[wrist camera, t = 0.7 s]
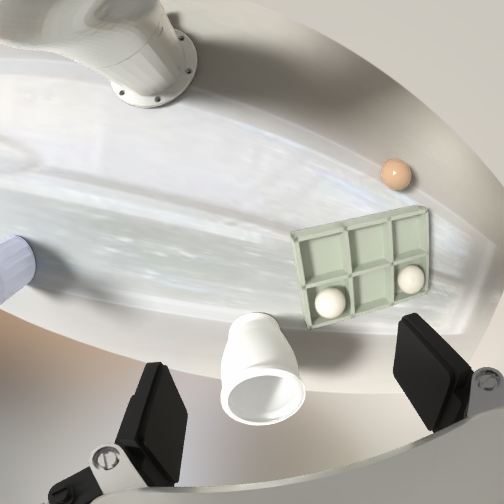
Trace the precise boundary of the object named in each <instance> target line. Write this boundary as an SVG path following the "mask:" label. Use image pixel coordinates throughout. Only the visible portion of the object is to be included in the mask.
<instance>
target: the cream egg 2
mask: <svg viewBox="0 0 504 504" xmlns="http://www.w3.org/2000/svg"><path fill="white" fill-rule="evenodd" d="M397 282H398V286H399V288H400V289H401V290H402V291H403V292H405V293H407V294H414V293H416V292H418V291H419V290H420V289H421V288H422V286H423V284H424V274H423V272H422V270H421V269H420V268H419V267H417V266H415V265H407V266H405V267H403V268H402V269H401V270H400V272H399V274H398V277H397Z"/></svg>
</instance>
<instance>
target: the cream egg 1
mask: <svg viewBox="0 0 504 504" xmlns="http://www.w3.org/2000/svg"><path fill="white" fill-rule="evenodd" d="M345 305H346V300H345V296H344V295H343V293H342V292H341V291H340V290H338V289H337V288H333V287H328V288H325V289H323V290H321V291H320V292H319V293H318V294H317V296H316V298H315V308H316V311H317V312H318V313H319V314H320V315H321V316H322V317H324V318H328V319H332V318H336V317H338V316H339V315H340V314H341V313H342V312H343V311H344V309H345Z"/></svg>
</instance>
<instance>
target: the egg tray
mask: <svg viewBox="0 0 504 504" xmlns="http://www.w3.org/2000/svg"><path fill="white" fill-rule="evenodd" d="M289 235H290V241H291V246H292V252H293V257H294V263H295V268H296V274H297V280H298V286H299V292H300V298H301V304H302V310H303V317H304V321H305V323H306V325H307V328H308V330H310V329H314V328H318V327H322V326H326V325H329V324H333V323H337V322H340V321H344V320H347V319H351V318H354V317H357V316H361V315H364V314H367V313H371V312H374V311H377V310H380V309H383V308H387V307H390V306H393V305H396V304H399V303H402V302H405V301H408V300H411V299H413V298H416V297H419V296H422V295H425V294H427V293H428V279H429V218H428V208H425V207H422V206H419V205H413V206H408V207H404V208H399V209H394V210H389V211H385V212H380V213H375V214H371V215H366V216H361V217H357V218H352V219H348V220H343V221H338V222H334V223H329V224H325V225H320V226H316V227H311V228H306V229H302V230H297V231H293V232H289ZM407 265H415V266H417V267H419V268H420V269H421V270H422V272H423V274H424V284H423V286H422V288H421V289H420V290H419V291H418V292H416V293H414V294H407V293H405V292H403V291H402V290H401V289H400V288H399V286H398V282H397V277H398V274H399V272H400V270H401V269H402V268H403V267H405V266H407ZM328 287H333V288H337V289H338V290H340V291H341V292H342V293H343V295H344V296H345V300H346V305H345V309H344V311H343V312H342V313H341V314H340V315H339V316H338V317H336V318H332V319H328V318H324V317H322V316H321V315H320V314H319V313H318V312H317V311H316V308H315V298H316V296H317V294H318V293H319V292H320V291H321V290H323V289H325V288H328Z"/></svg>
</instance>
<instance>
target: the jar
mask: <svg viewBox="0 0 504 504" xmlns="http://www.w3.org/2000/svg"><path fill="white" fill-rule="evenodd" d="M221 380H222V386H223V388H222V391H221V405H222V408H223V410H224V411H225V412H226V414H227V415H229V416H230V417H231V418H233V419H234V420H236V421H238V422H241V423H244V424H250V425H268V424H273V423H277V422H279V421H282V420H284V419H286V418H288V417H290V416H291V415H292V414H294V413H295V412H296V411H297V410H298V409H299V408H300V407H301V405H302V403H303V401H304V398H305V388H304V385H303V382H302V380H301V379H300V377H299V370H298V364H297V360H296V357H295V354H294V352H293V350H292V348H291V346H290V345H289V343H288V342H287V340H286V338H285V336H284V335H283V333H282V332H281V330H280V327H279V324H278V323H277V322H276V320H275V319H274V318H272V317H271V316H269V315H267V314H263V313H249V314H246V315H243V316H241V317H240V318H238V319H237V320H236V321H235V322H234V323H233V324H232V326H231V328H230V331H229V339H228V342H227V344H226V348H225V351H224V354H223V358H222V364H221Z"/></svg>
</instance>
